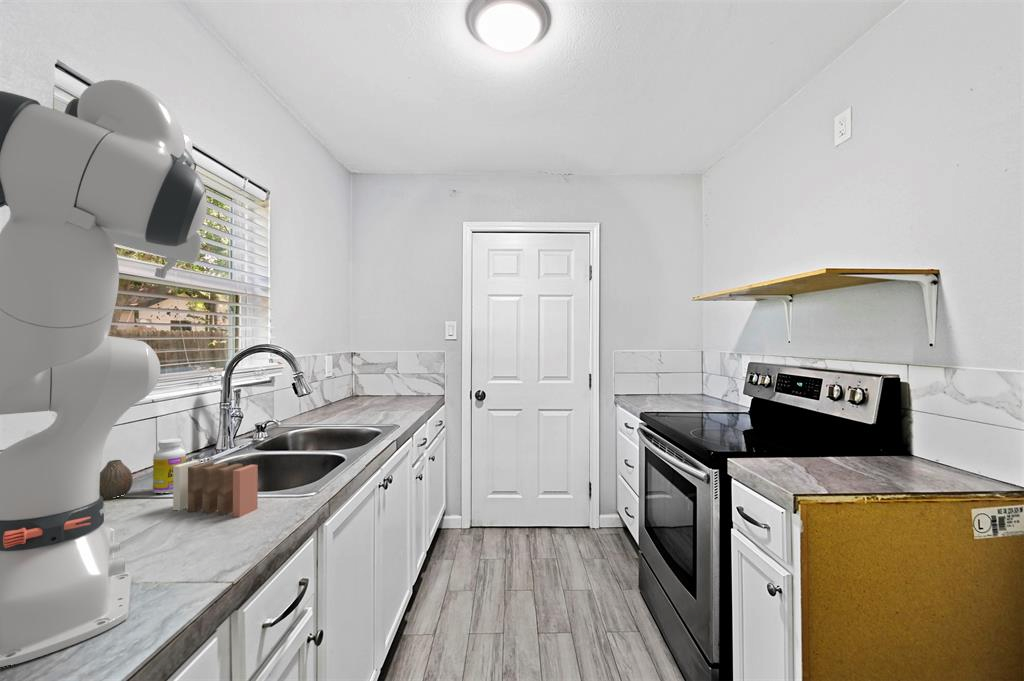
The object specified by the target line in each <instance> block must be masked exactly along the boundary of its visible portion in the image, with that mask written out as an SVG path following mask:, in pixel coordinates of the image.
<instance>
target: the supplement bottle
mask: <svg viewBox="0 0 1024 681" xmlns="http://www.w3.org/2000/svg"><path fill="white" fill-rule="evenodd" d="M181 446H182V439H181V438H167V439H161V440H159V441H158V448H159V450H157V451H156V452H154V454H153V456H152V457H153V458H152V459H153V464H152V471H153V472H152V492H153V493H154V494H156V493H166V492H169V494H173V466H176V465H179V464H183V463H186V460H187V459H186V458H187V453H186V452H187V451H186V450H184V449H183V448H181Z"/></svg>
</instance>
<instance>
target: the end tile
mask: <svg viewBox="0 0 1024 681" xmlns="http://www.w3.org/2000/svg"><path fill="white" fill-rule="evenodd" d="M258 489H259V488H258V464H249V465H245V466H243V467H242V468H239V469H236V470H233V512H232V517H234V518H235V517H236V518H241V517H243V516H245V515H247V514H249V513H252V512H254V511H255V510H257V509H258Z"/></svg>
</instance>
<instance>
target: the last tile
mask: <svg viewBox="0 0 1024 681" xmlns="http://www.w3.org/2000/svg"><path fill="white" fill-rule="evenodd" d="M197 464H201V463H200V460H190V461H187V462H186V463H183V464H179V465H176V466H173V493H172V500H173V501H172V510H178V511H177V512H181V511H184V510H185V508H186V509H188V467H190V466H194V465H197ZM183 509H184V510H183ZM180 510H181V511H180Z"/></svg>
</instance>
